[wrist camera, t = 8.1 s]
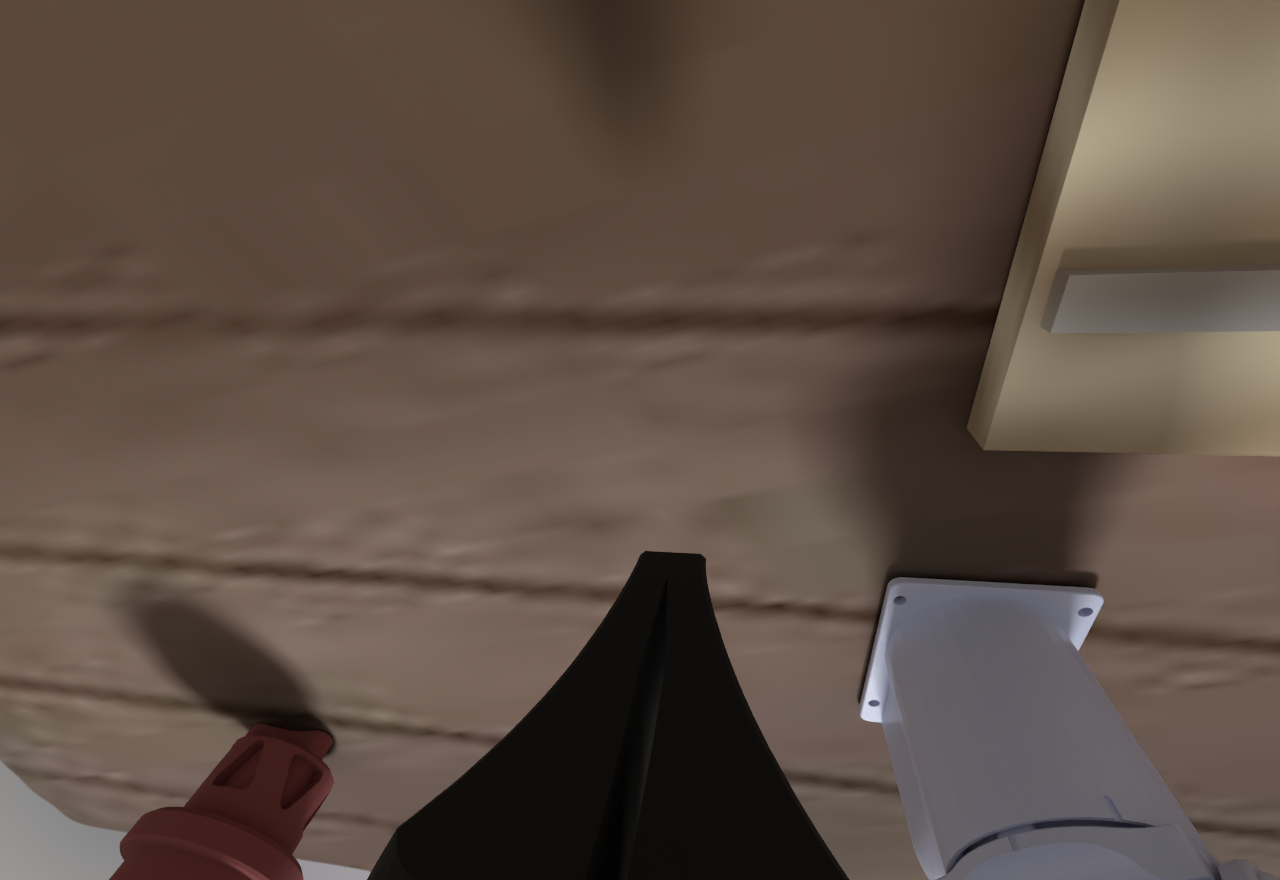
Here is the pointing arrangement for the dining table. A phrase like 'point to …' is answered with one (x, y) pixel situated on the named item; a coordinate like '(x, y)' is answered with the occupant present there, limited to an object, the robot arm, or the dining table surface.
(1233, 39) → the hole board
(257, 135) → the dining table surface
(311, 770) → the mechanical component
